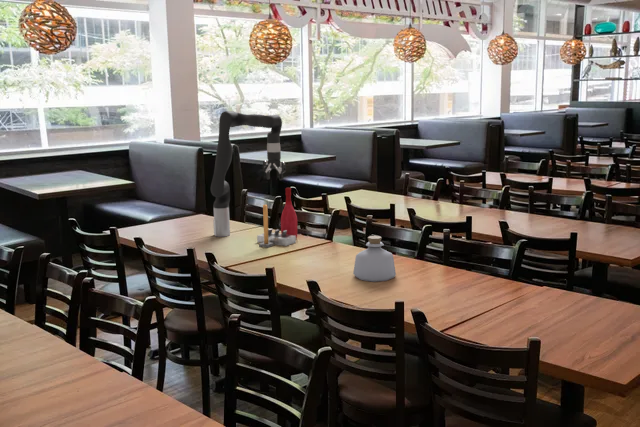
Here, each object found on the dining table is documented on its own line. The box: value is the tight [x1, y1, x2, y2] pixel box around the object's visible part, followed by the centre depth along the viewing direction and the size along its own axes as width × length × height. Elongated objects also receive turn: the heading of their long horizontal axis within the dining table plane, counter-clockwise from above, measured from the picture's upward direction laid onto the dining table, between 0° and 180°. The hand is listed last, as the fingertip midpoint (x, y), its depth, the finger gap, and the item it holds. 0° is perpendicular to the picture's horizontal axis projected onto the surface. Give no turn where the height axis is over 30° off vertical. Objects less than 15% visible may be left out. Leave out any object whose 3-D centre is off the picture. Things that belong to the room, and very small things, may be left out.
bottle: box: [353, 235, 397, 283], centre depth 309 cm, size 20×20×19 cm
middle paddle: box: [274, 228, 281, 235], centre depth 380 cm, size 1×3×3 cm, turn 149°
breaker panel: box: [256, 232, 297, 247], centre depth 381 cm, size 20×10×4 cm, turn 59°
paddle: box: [268, 228, 274, 235], centre depth 382 cm, size 1×3×3 cm, turn 150°
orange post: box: [258, 204, 275, 249], centre depth 370 cm, size 6×6×24 cm
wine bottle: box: [280, 187, 298, 238], centre depth 389 cm, size 10×10×30 cm
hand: (274, 179), depth 374 cm, fingers open, 8 cm apart
